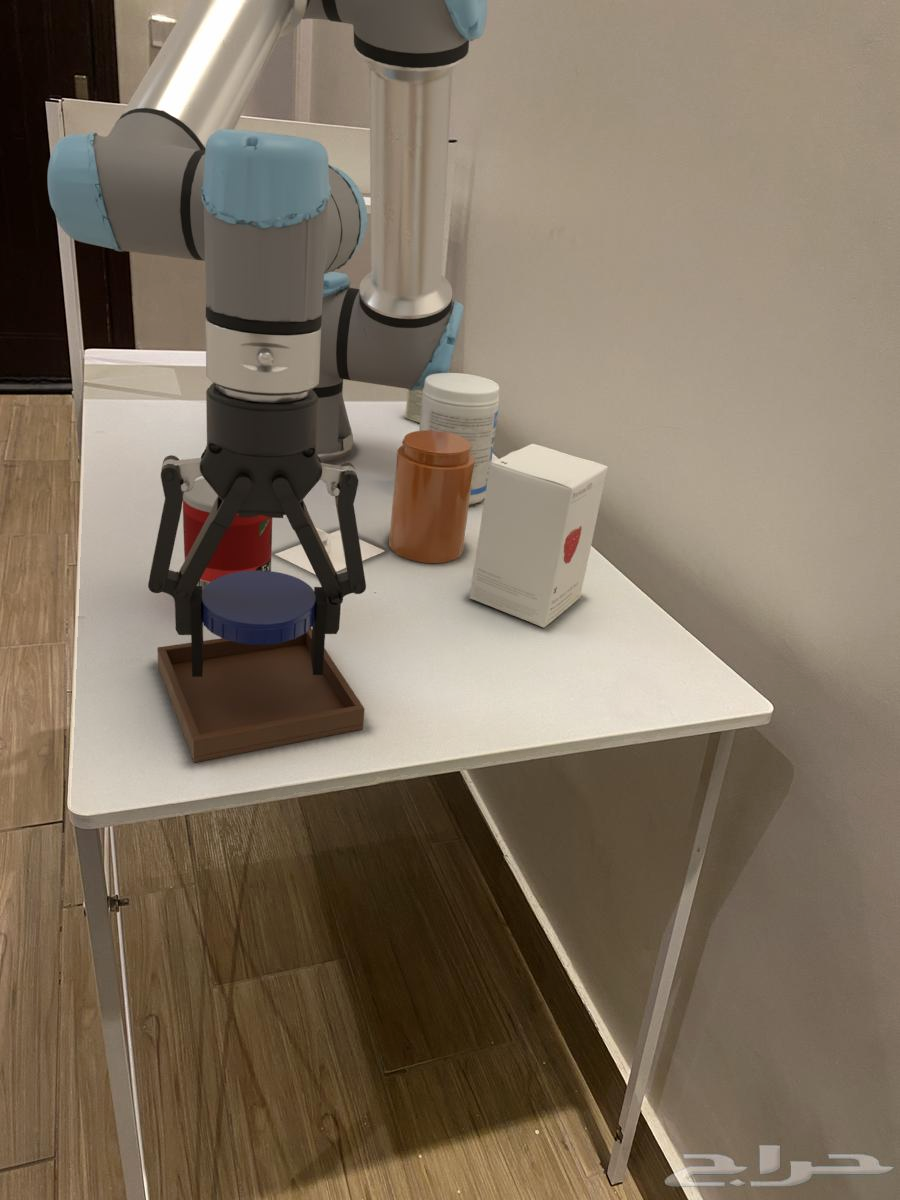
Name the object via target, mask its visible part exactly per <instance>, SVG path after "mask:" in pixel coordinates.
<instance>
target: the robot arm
mask: <svg viewBox="0 0 900 1200" xmlns="http://www.w3.org/2000/svg"><path fill="white" fill-rule="evenodd" d="M487 17H488V0H189V1H188V3H187V5H186V6H185V8H184V9H183V11H182V13H181V14H180V15H179V18H178V20H177V21H176V22H175V24H174V26H173V28H172V30H171V31H170V33H169V35H168V36H167V38H166V40H165V41H164V43H163V45H162V46H161V48H160V50H159V51H158V53H157V55H156V56H155V58H154V60H153V62H151V65H150V66H149V68H148V70H147V71H146V73H145V74H144V76H143V78H142V80H141V82H140V83H139V85H138V87H137V88H136V89H135V92H134V93H133V95H132V97H131V98H130V100H129V102H128V103H127V105H126V107H125V108H124V110H123V111H122V113H121V115H120V116H119V118H118V120H116V122H115V123H114V126H112V128H111V130H110V131H109V134H108V135H106V136H103V135H100V134H98V133H97V132H89V133H88V134H82V133H80V134H79V133H71V134H68V135H67V136H62V137H61V138H60V139H59V140H58V141H57V142H56V144H55V145H54V147H53V148H52V152H51V153H50V158H49V162H48V167H47V191H48V192H47V193H48V197H49V199H48V200H49V204H50V206H51V208H52V210H53V212H54V215H55V220H56V222H57V223H58V226H59V227H60V228H61V229H62V230H63V232H64V234H66V235H67V236H68V237H69V238H71V239H72V240H74V241H77V242H79V243H84V244H88V245H92V246H98V247H103V248H107V249H111V250H114V251H117V252H121V253H123V252H129V253H135V254H136V253H137V254H145V255H154V256H162V257H170V258H177V259H178V258H179V259H184V260H185V259H186V260H195V261H204V276H205V278H204V279H205V319H204V320H205V321H204V322H205V371H206V372H205V375H206V377H207V379H209V381H210V382H211V384H210V386H209V387H208V388H207V389H206V391H205V393H206V394H205V395H206V396H205V398H206V403H205V404H206V405H205V406H206V446H205V449H204V451H202V454H201V455H200V457H198V458H188V459H187V458H186V459H179V457H178V456H176V455H171V454H170V455H166V456H165V457H164V459H163V461H162V465H161V469H160V470H161V471H160V479H161V485H162V490H163V495H164V496H163V497H164V501H163V507H162V512H161V517H160V522H159V527H158V531H157V536H156V542H155V547H154V552H153V557H152V562H151V567H150V574H149V577H148V578H149V579H148V583H147V587H148V590H149V591H150V592H151V593H154V594H160V593H164V594H167V595H169V596H170V597H172V598H173V601H174V618H175V619H174V621H175V631H176V633H177V635H178V636H190V638H191V639H190V640H191V642H190V643H191V646H192V677H202V673H203V641H204V623H203V621H202V601H201V599H202V586H197V584H198V582H199V580H200V578H201V576H202V575H203V573H204V571H205V569H206V567H207V565H208V564H209V562H210V560H211V558H212V556H213V554H214V552H215V551H216V549H217V547H218V545H219V543H220V541H221V540H222V538H223V536H224V534H225V532H226V530H227V529H229V527H230V526H231V524H232V522H233V520H234V518H235V516H236V515H237V514H239V517H254V516H258V515H264V516H268V517H271V518H272V519H284V516H286V518H287V520H288V522H289V525H290V526H291V528H292V530H293V531H294V533H295V535H296V536H297V537H296V538H297V539H298V541H299V543H300V545H302V547H303V549H304V551H305V553H306V555H307V557H308V559H309V562H310V564H311V566H312V568H313V570H314V572H315V574H316V575H315V574H314V575H315V576H316V578H317V580H318V583H319V584H320V586H314V587H313V588H314V589H313V590H314V592H315V596H316V615H315V621H314V624H313V627H311V629H312V645H311V661H312V669H313V675H323V661H324V648H325V643H326V642H325V641H326V635H337V634H338V632H339V630H340V621H341V609H342V608H341V606H342V603H343V601H344V597H346V596H348V595H350V594H354V595H362V594H363V593H364V592H365V591H366V589H367V583H366V576H365V570H364V563H363V562H364V561H362V556H361V549H360V543H359V539H360V538H359V537H360V536H359V531H358V530H359V529H358V524H357V516H356V510H355V505H354V504H355V501H356V495H357V492H358V487H359V477H358V473H357V471H356V468H355V465H354V464H353V463H352V462H349V461H344V462H342V463H341V464H339V465H337V464H331V463H334V462H338V461H342V460H343V459H346V458H347V457H349V456H350V455H351V454H352V452H353V445H354V436H353V435H354V434H353V432H352V427H351V424H350V420H349V416H348V412H347V409H346V408H347V407H346V403H345V400H344V397H343V396H344V394H343V393H344V390H343V389H344V380H346V381H353V382H359V383H367V384H373V385H378V386H385V387H393V388H399V389H406V390H408V389H409V390H410V391H414V390H422V391H423V388H424V384H425V379H426V377H428V376H429V375H432V374H437V373H449V369H450V370H451V365H452V361H453V357H454V353H455V349H456V346H457V345H456V344H457V341H458V337H459V332H460V328H461V324H462V320H463V314H464V309H465V308H464V305H463V304H462V303H460V302H458V301H457V300H453V288H452V285H451V283H450V281H449V280H448V279H447V278H445V276H444V275H442V269H443V268H442V267H443V249H444V231H445V216H446V215H445V212H446V194H447V178H448V177H447V176H448V156H449V141H450V140H449V139H450V122H451V120H450V119H451V103H452V102H451V101H452V83H453V72H454V70H456V69H457V68H458V67H459V66H460V65H461V64H463V62H464V61H465V60H466V59H467V57H468V56H469V51H470V49H469V48H470V42H473V41H475V40H478V39H480V38H481V37H482V36H483V34H484V32H485V27H486V23H487ZM312 19H313V20H323V21H330V22H335V23H343V24H348V25H352V29H353V48H354V51H355V53H356V54H357V55H358V56H359V57H360V58H361V59H362V60H363V61H364V63H365V64H367V66H368V74H369V75H368V78H369V79H368V80H369V81H368V84H369V85H368V88H369V89H368V91H369V92H368V93H369V94H368V95H369V97H368V98H369V172H370V173H369V176H370V177H369V181H370V183H369V185H370V187H369V189H370V190H369V191H370V272H369V273H368V274H366V275H365V276H364V277H363V278H362V279H361V282H360V283H359V287H358V288H354V287H351V282H352V281H350V277H349V275H348V274H346V273H344V272H336V270H340V269H341V268H342V267H343V266H346V264H348V262H349V260H351V259H352V258H353V256H354V255H355V253H356V252H357V251H358V250H359V248H360V247H361V245H362V243H363V241H364V239H365V236H366V233H367V228H368V223H369V221H368V210H367V205H366V201H365V198H364V195H363V193H362V191H361V189H360V188H359V186H358V185H357V183H356V182H355V181H354V179H352V177H350V175H348V174H347V173H346V172H344V170H341V169H340V168H338V167H335V166H333V165H331V164H329V154H328V151H327V149H326V147H325V146H324V145H323V144H322V143H321V142H319V141H317V140H314V139H312V138H308V137H301V136H296V135H295V136H294V135H287V134H281V133H273V132H266V131H265V132H264V131H263V132H262V131H252V130H242V129H240V130H239V129H236V127H237V124H238V123H239V120H240V118H241V116H242V115H243V112H244V110H245V108H246V106H247V104H248V102H249V100H250V99H251V97H252V95H253V92H254V90H255V89H256V87H257V84H258V83H259V80H260V78H261V76H262V74H263V71H264V70H265V68H266V65H267V64H268V62H269V60H270V58H271V56H272V54H273V51H274V50H275V48H276V46H277V43H278V41H279V39H280V38H282V37H285V36H288V35H289V34H290V33H292V32H293V31H294V30H295V29H296V28H297V27H298V26H299V25H300V23H301V21H303V20H312ZM199 477H202V478H204V479H205V480H206V481H207V482H208V484H209V485H210V486H211V487H212V489H213V490H214V491H215V493H216V494H217V495H218V497H217V498H216V500H215V503H214V505H213V508H212V510H211V512H210V514H209V516H208V518H207V520H206V522H205V523H204V525H203V527H202V529H201V531H200V533H199V535H198V537H197V539H196V540H195V542H194V544H193V546H192V548H191V550H190V552H189V554H188V556H187V557H186V559H185V558H184V561H183V563H182V565H181V567H180V569H179V571H174V570H171V569H170V566H171V562H172V557H173V552H174V549H175V548H174V547H175V543H176V538H177V533H178V528H179V524H180V519H181V513H182V510H183V495H184V492H188V491H190V490H191V489H192V488H193V485H194V481H196V480H197V478H199ZM320 481H322V482H324V483H325V485H326V490H327V493H328V494H329V495H330V496H332V497H334V501H335V508H336V513H337V519H338V526H339V530H340V532H341V539H342V545H343V551H344V557H345V563H346V568H345V570H346V571H343V572H340V573H337V572H336V571H335V569H334V566H333V564H332V562H331V560H330V558H329V556H328V554H327V551H326V549H325V547H324V545H323V543H322V541H321V539H320V537H319V534H318V532H317V530H316V528H317V527H316V525H315V523H314V522H313V520H312V517H311V516H310V513H309V510H308V508H307V504H306V503H305V501H304V499H305V498H306V497H307V495H308V494H309V493H310V492H311V491H312V489H314V487H315V486H316V485H317V484H318V482H320ZM315 527H316V528H315Z"/></svg>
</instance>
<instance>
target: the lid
mask: <svg viewBox="0 0 900 1200" xmlns="http://www.w3.org/2000/svg"><path fill="white" fill-rule="evenodd" d="M201 601H202V621H203V627H205V628H206V629H207V630H208V631H209V632H210V633H212V634H213V635H215V636H216V637H219V638H223V639H226V640H229V641H233V642H237V643H242V644H250V645H269V644H277V643H283V642H286V641H290V640H293V639H295V638H297V637H300V636H301V635H303V634H305V633H306V632H307V631H309V629H310V628H311V629H312V627H313V624H314V621H315V615H316V596H315V592H314V589H313V588H312V586H310V585H309V584H308V583H307V582H305V581H304V580H302V579H301V578H298V577H296V576H293V575H291V574H287V573H284V572H278V571H273V570H271V571H260V570H254V571H241V572H235V573H231V574H227V575H224V576H221V577H219V578H217V579H215V580H213V581H211V582H210V583H209V584H208V585H206V587H205V588H204V589H203V591H202V599H201Z"/></svg>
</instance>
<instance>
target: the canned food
mask: <svg viewBox="0 0 900 1200" xmlns="http://www.w3.org/2000/svg"><path fill="white" fill-rule="evenodd" d="M217 497H218V495H217V494H216V493H215V491H214V490H213V489H212V487H211V486H210V485H209V484H208V482H207V481H206V480H205V479H204V477H202V478H199V479H195V481H194V485H193V488H192V489H191V490H190V491H188V492H184V495H183V502H182V523H183V524H182V527H183V553H184V560H185V559H186V557H187V556H188V554H189V552H190V550H191V548H192V546H193V544H194V542H195V540H196V539H197V537H198V535H199V533H200V531H201V529H202V527H203V525H204V523H205V522H206V520H207V518H208V516H209V514H210V512H211V510H212V508H213V505H214V503H215V500H216V498H217ZM272 545H273V518H271V517H268V516H264V515H258V516H254V517H239V514H237V515H236V516H235V518H234V520H233V522H232V524H231V526H230V527H229V529H227V530H226V532H225V534H224V536H223V538H222V540H221V541H220V543H219V545H218V547H217V549H216V551H215V552H214V554H213V556H212V558H211V560H210V562H209V564H208V565H207V567H206V569H205V571H204V573H203V575H202V576H201V578H200V580H199V582H198V584H197V586H202V591H203V589H204V588H205V587H206V585H208V584H209V583H210V582H211V581H213V580H215V579H217V578H219V577H221V576H224V575H227V574H231V573H235V572H241V571H254V570H260V571H272V552H273V551H272V549H273V547H272Z"/></svg>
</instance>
